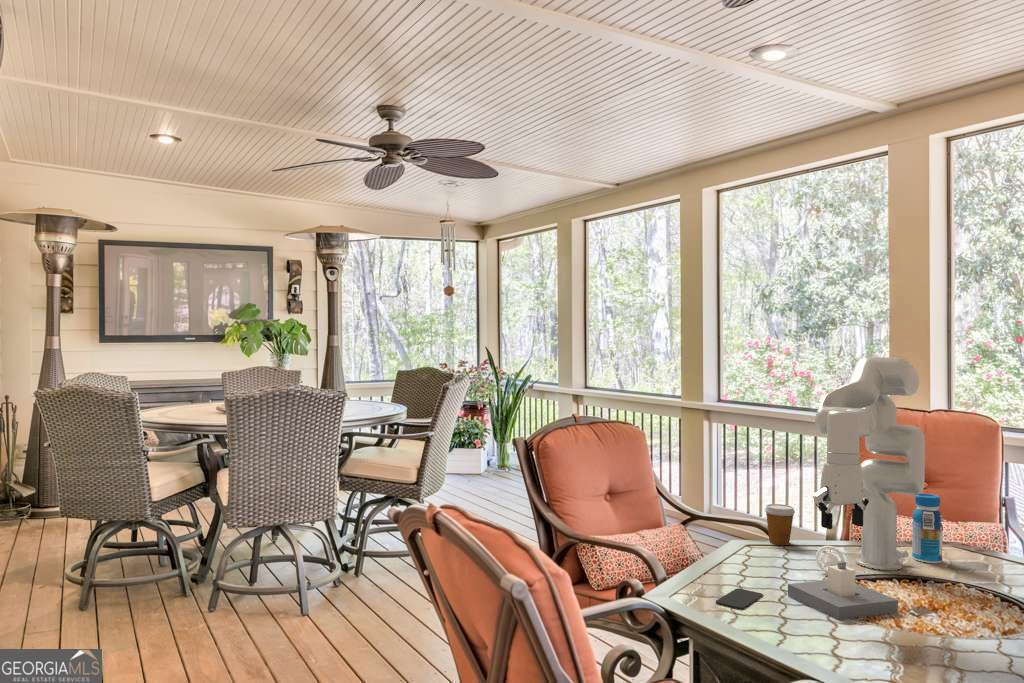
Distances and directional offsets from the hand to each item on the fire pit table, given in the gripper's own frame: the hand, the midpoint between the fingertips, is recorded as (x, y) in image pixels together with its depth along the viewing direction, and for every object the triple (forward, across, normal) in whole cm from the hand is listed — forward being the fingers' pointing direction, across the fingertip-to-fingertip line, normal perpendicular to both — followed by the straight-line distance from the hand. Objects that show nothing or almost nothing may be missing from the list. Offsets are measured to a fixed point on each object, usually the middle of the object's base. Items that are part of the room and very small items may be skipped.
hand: (842, 526), depth 187 cm
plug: (+19, 0, 0) cm, 19 cm away
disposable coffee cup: (+20, -25, -55) cm, 63 cm away
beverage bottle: (+20, -56, -25) cm, 64 cm away
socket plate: (+19, 0, 0) cm, 19 cm away
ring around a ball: (+20, -15, -21) cm, 32 cm away
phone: (+20, +23, -10) cm, 32 cm away
